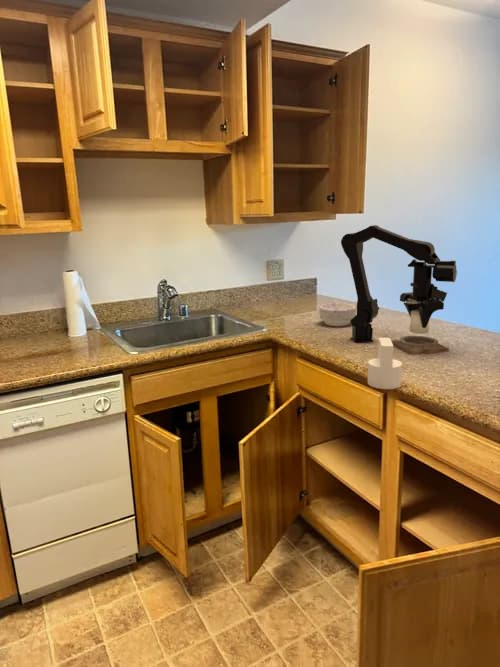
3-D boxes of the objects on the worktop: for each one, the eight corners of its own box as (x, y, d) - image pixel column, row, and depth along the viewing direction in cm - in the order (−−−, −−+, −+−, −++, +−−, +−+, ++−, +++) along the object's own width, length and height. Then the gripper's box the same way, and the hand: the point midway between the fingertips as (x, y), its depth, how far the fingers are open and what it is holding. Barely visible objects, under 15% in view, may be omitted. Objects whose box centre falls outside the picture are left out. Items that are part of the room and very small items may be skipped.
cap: (415, 334, 160) (416, 313, 159) (406, 329, 166) (407, 310, 164) (432, 332, 161) (433, 312, 160) (422, 328, 167) (423, 309, 165)
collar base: (409, 354, 157) (410, 347, 157) (390, 343, 171) (390, 336, 170) (448, 351, 160) (449, 344, 159) (426, 340, 173) (426, 334, 172)
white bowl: (340, 330, 193) (340, 310, 191) (312, 324, 204) (312, 306, 202) (362, 323, 202) (363, 305, 200) (334, 318, 213) (334, 301, 211)
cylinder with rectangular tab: (403, 389, 127) (405, 346, 124) (368, 388, 128) (369, 345, 126) (399, 378, 135) (400, 337, 133) (366, 377, 137) (367, 337, 134)
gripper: (460, 283, 152) (456, 330, 156) (429, 275, 170) (426, 318, 173) (428, 284, 150) (425, 332, 154) (400, 277, 168) (398, 320, 172)
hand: (419, 325), depth 163 cm, fingers closed on cap, 6 cm apart
